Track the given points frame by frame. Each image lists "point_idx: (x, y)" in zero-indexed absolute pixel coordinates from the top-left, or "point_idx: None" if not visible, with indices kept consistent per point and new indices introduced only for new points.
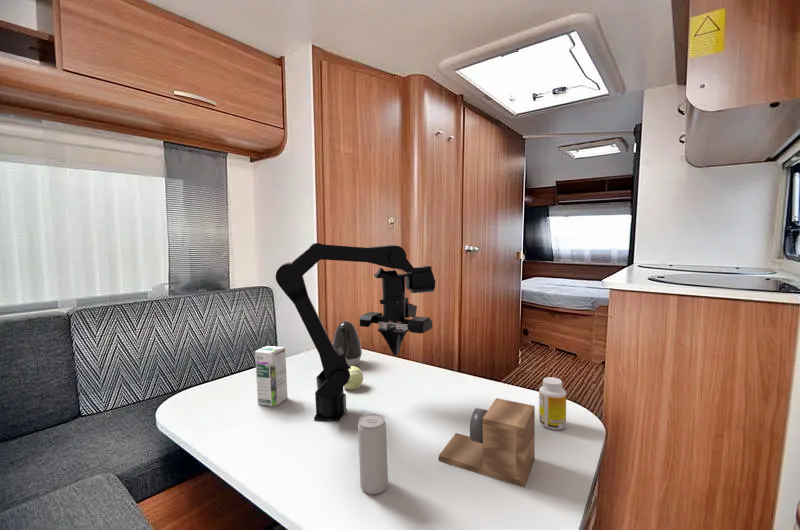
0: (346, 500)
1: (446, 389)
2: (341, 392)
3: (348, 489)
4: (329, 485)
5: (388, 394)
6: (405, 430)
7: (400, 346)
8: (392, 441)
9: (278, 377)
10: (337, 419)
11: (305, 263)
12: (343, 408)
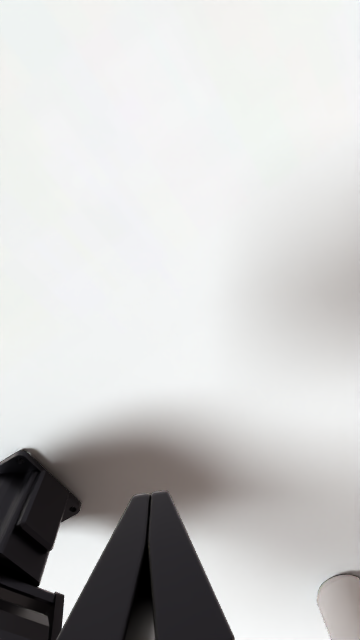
0: (315, 624)
1: (280, 9)
2: (63, 605)
3: (301, 612)
4: (263, 623)
5: (55, 266)
6: (292, 432)
7: (204, 573)
8: (289, 486)
9: None
10: (76, 512)
11: None
12: (63, 511)
